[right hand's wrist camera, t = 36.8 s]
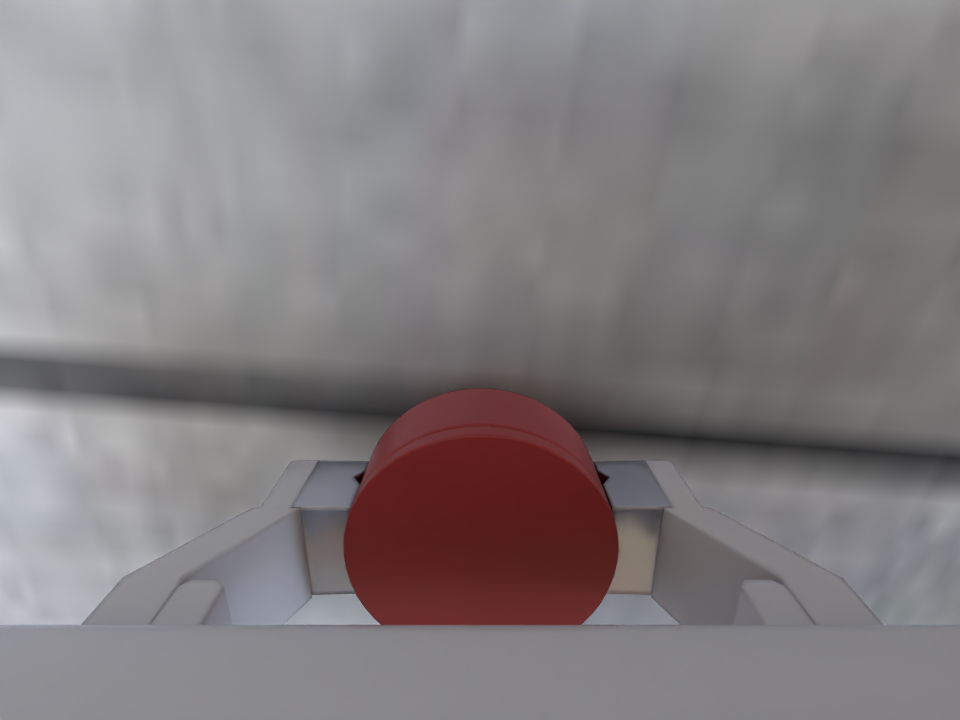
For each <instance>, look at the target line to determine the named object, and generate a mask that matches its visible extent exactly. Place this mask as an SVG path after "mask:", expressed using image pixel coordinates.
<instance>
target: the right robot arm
mask: <svg viewBox="0 0 960 720" xmlns="http://www.w3.org/2000/svg"><path fill="white" fill-rule="evenodd" d="M368 463H369V461H328V460H321V461H319V460H295V461H292V462H291V463H290V464H289V466H288V467H287V469H286V470H285V472H284V473H283V475H282V476H281V478H280V479H279V481H278V482H277V484H276V485H275V487H274V489H273V490H272V492H271V493H270V495H269V496H268V498H267V499H266V501H265V502H264V504H263V505H262V507H261V508H252V509H250V510H248V511H246V512H244V513H243V514H241V515H239V516H237V517H235V518H233V519H231V520H229V521H228V522H226V523H224V524H222V525H220V526H218V527H216V528H214V529H213V530H211V531H209V532H207V533H205V534H203V535H201V536H200V537H198V538H196V539H194V540H192V541H190V542H188V543H186V544H185V545H183V546H181V547H179V548H177V549H175V550H173V551H171V552H170V553H168V554H166V555H164V556H162V557H160V558H158V559H157V560H155V561H153V562H151V563H149V564H147V565H145V566H143V567H142V568H140V569H138V570H136V571H134V572H132V573H130V574H128V575H127V576H125V577H123V578H122V579H121V580H120V581H119V582H118V584H117V585H116V586H115V587H114V588H113V589H112V590H111V592H110V593H109V594H108V595H107V596H106V597H105V598H104V600H103V601H102V602H101V603H100V604H99V605H98V606H97V607H96V609H95V610H94V611H93V612H92V613H91V614H90V615H89V617H88V618H87V619H86V620H85V621H84V622H83V623H82V625H0V720H960V625H884V624H883V623H882V622H881V621H880V620H879V619H878V618H877V617H876V615H875V614H874V613H873V612H872V611H871V610H870V609H869V608H868V606H867V605H866V604H865V603H864V602H863V601H862V600H861V598H860V597H859V596H858V595H857V594H856V593H855V592H854V591H853V589H852V588H851V587H850V586H849V585H848V584H847V583H846V582H845V580H844V579H843V578H841V577H839V576H837V575H836V574H834V573H832V572H830V571H828V570H826V569H824V568H822V567H821V566H819V565H817V564H815V563H813V562H811V561H809V560H807V559H806V558H804V557H802V556H800V555H798V554H796V553H794V552H792V551H791V550H789V549H787V548H785V547H783V546H781V545H779V544H777V543H776V542H774V541H772V540H770V539H768V538H766V537H764V536H762V535H761V534H759V533H757V532H755V531H753V530H751V529H749V528H747V527H746V526H744V525H742V524H740V523H738V522H736V521H734V520H732V519H731V518H729V517H727V516H725V515H723V514H721V513H719V512H717V511H716V510H714V509H712V508H703V507H702V506H701V505H700V503H699V502H698V500H697V499H696V497H695V496H694V494H693V493H692V491H691V490H690V488H689V487H688V485H687V484H686V482H685V481H684V479H683V478H682V476H681V475H680V473H679V472H678V470H677V469H676V467H675V466H674V464H673V463H672V462H671V461H669V460H649V461H607V462H593V464H594V466H595V469H596V471H597V474H598V477H599V479H600V482H601V484H602V487H603V490H604V492H605V495H606V497H607V500H608V503H609V505H610V508H611V510H612V513H613V516H614V519H615V523H616V527H617V532H618V542H619V550H618V562H617V566H616V570H615V575H614V577H613V580H612V583H611V585H610V588H609V590H608V592H607V593H606V594H641V595H652V596H651V597H652V598H653V599H654V600H655V601H656V602H657V603H658V604H659V605H660V606H661V607H662V608H664V609H665V610H666V611H667V612H668V613H669V614H670V615H671V616H672V617H673V618H674V619H675V620H676V621H677V622H678V623H679V624H680V625H283V624H284V623H286V622H287V621H288V620H289V619H290V618H291V617H292V616H293V615H294V614H295V613H296V612H297V611H298V610H299V609H300V608H301V607H302V606H303V605H304V604H305V603H307V602H308V601H309V600H310V599H311V598H312V595H322V594H356V593H355V591H354V589H353V587H352V585H351V583H350V580H349V577H348V574H347V571H346V567H345V561H344V554H343V538H344V532H345V526H346V522H347V519H348V516H349V513H350V510H351V507H352V505H353V502H354V500H355V497H356V494H357V492H358V489H359V487H360V484H361V482H362V479H363V476H364V474H365V471H366V469H367V466H368Z"/></svg>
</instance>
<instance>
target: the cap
mask: <svg viewBox="0 0 960 720" xmlns="http://www.w3.org/2000/svg"><path fill="white" fill-rule="evenodd" d="M618 550H619V542H618V532H617V527H616V523H615V519H614V516H613V513H612V510H611V508H610V505H609V503H608V500H607V497H606V495H605V492H604V490H603V487H602V484H601V482H600V479H599V477H598V474H597V471H596V469H595V466H594V464H593V461H592V458H591V456H590V454H589V452H588V449H587V447H586V445H585V444H584V442H583V440H582V439H581V437H580V436H579V434H578V433H577V432H576V431H575V430H574V428H573V427H572V426H571V425H570V424H569V423H568V422H567V421H566V420H565V419H564V418H562V417H561V416H560V415H559V414H558V413H556V412H555V411H553V410H552V409H550V408H549V407H547V406H546V405H544V404H542V403H540V402H538V401H536V400H534V399H532V398H529V397H526V396H523V395H520V394H517V393H513V392H509V391H504V390H497V389H488V388H481V389H465V390H458V391H452V392H449V393H445V394H442V395H438V396H435V397H433V398H430V399H428V400H426V401H424V402H422V403H420V404H418V405H416V406H415V407H413V408H411V409H410V410H408V411H407V412H406V413H404V414H403V415H402V416H401V417H399V418H398V419H397V420H396V421H395V422H394V423H393V424H392V425H391V426H390V427H389V428H388V429H387V430H386V432H385V433H384V435H383V436H382V437H381V439H380V440H379V442H378V444H377V445H376V447H375V449H374V451H373V453H372V456H371V458H370V461H369V463H368V466H367V469H366V471H365V474H364V476H363V479H362V482H361V484H360V487H359V489H358V492H357V494H356V497H355V500H354V502H353V505H352V507H351V510H350V513H349V516H348V519H347V522H346V526H345V532H344V538H343V554H344V561H345V567H346V571H347V574H348V577H349V580H350V583H351V585H352V587H353V589H354V591H355V593H356V595H357V597H358V598H359V600H360V601H361V603H362V604H363V606H364V607H365V608H366V610H367V611H368V612H369V613H370V614H371V615H372V616H373V617H374V619H375V620H377V621H378V622H379V623H380V624H381V625H581V624H582V623H583V622H584V621H585V620H587V619H588V618H589V617H590V616H591V615H592V614H593V612H594V611H595V610H596V608H597V607H598V606H599V605H600V603H601V602H602V600H603V598H604V597H605V595H606V593H607V592H608V590H609V588H610V585H611V583H612V580H613V577H614V575H615V570H616V566H617V562H618Z"/></svg>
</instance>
